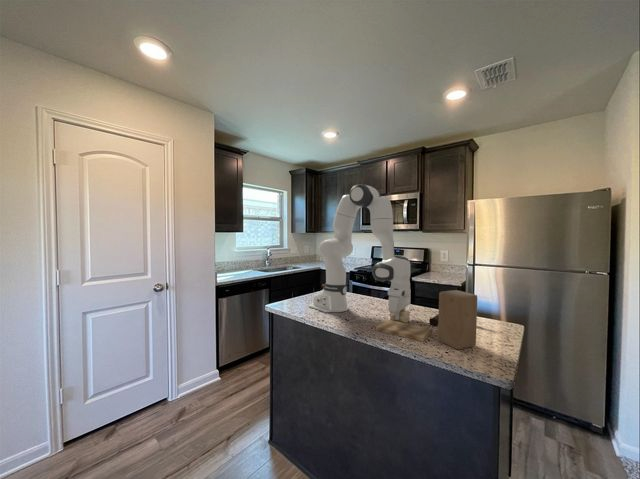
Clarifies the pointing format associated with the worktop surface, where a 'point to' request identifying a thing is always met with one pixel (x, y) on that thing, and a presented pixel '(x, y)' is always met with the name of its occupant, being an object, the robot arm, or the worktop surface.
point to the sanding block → (401, 316)
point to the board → (404, 330)
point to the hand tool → (434, 320)
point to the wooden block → (457, 319)
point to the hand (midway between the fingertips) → (399, 317)
